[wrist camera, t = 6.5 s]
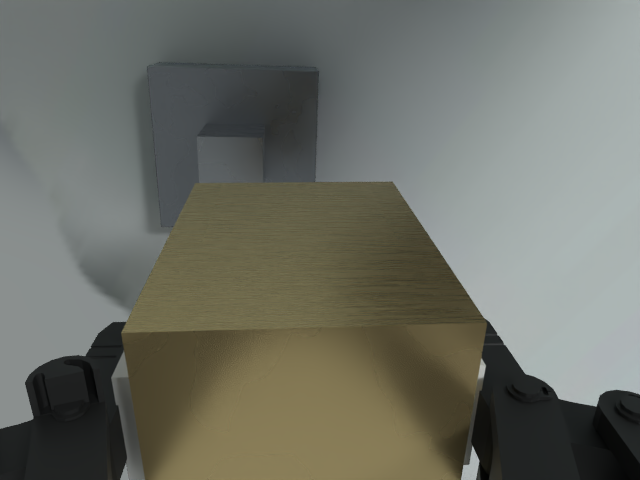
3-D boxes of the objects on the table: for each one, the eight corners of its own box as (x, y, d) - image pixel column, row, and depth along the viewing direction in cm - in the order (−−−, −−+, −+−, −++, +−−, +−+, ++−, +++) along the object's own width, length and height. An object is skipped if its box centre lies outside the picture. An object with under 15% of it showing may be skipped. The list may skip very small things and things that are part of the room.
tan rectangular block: (195, 183, 16) (120, 333, 8) (392, 181, 16) (487, 323, 9) (209, 349, 18) (161, 579, 11) (380, 344, 18) (447, 562, 11)
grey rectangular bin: (159, 62, 30) (129, 72, 24) (315, 67, 31) (323, 78, 25) (176, 272, 35) (154, 324, 29) (309, 272, 36) (314, 322, 30)
